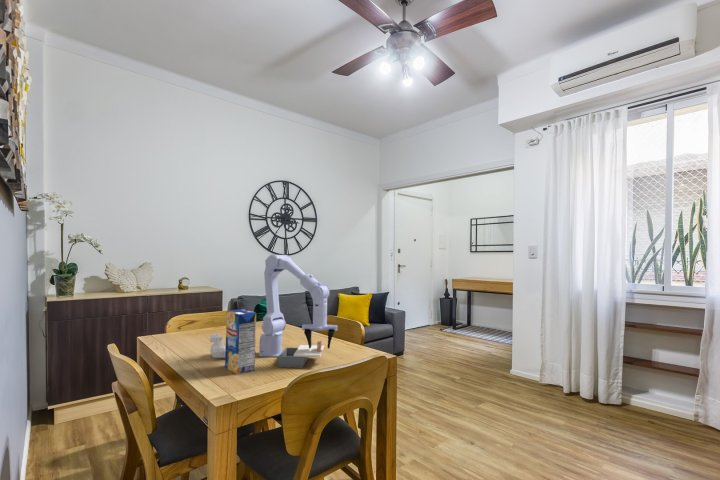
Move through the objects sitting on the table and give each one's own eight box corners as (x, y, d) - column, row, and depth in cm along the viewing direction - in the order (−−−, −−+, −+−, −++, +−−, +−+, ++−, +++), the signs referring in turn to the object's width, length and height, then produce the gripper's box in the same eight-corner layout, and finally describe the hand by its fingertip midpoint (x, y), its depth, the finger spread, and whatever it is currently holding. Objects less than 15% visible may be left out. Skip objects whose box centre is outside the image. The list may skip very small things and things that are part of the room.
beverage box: (237, 374, 133) (239, 314, 133) (224, 367, 141) (226, 310, 141) (254, 370, 137) (256, 312, 138) (241, 363, 145) (242, 308, 146)
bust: (213, 359, 158) (197, 341, 153) (227, 346, 162) (212, 328, 157) (223, 366, 149) (206, 347, 144) (237, 352, 153) (222, 333, 148)
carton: (277, 367, 142) (277, 356, 142) (285, 356, 156) (285, 347, 156) (302, 367, 142) (303, 357, 142) (308, 357, 156) (308, 347, 156)
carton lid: (293, 356, 142) (293, 345, 142) (300, 346, 156) (300, 336, 156) (319, 357, 141) (320, 346, 142) (324, 347, 156) (324, 337, 156)
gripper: (300, 316, 145) (300, 350, 145) (336, 316, 145) (336, 350, 145) (303, 313, 152) (303, 345, 152) (338, 313, 152) (337, 346, 152)
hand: (319, 347), depth 149 cm, fingers open, 7 cm apart
